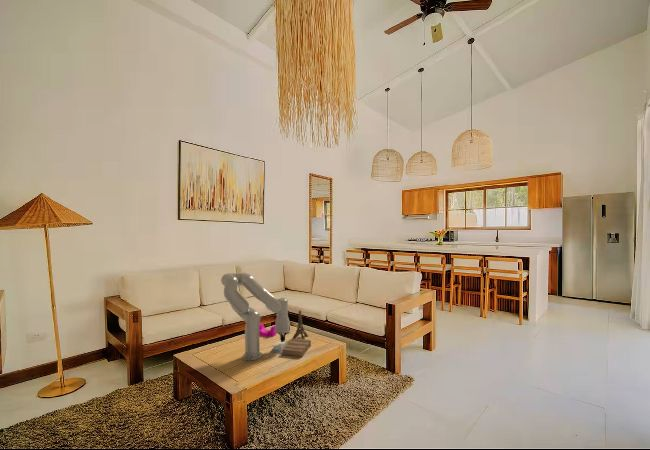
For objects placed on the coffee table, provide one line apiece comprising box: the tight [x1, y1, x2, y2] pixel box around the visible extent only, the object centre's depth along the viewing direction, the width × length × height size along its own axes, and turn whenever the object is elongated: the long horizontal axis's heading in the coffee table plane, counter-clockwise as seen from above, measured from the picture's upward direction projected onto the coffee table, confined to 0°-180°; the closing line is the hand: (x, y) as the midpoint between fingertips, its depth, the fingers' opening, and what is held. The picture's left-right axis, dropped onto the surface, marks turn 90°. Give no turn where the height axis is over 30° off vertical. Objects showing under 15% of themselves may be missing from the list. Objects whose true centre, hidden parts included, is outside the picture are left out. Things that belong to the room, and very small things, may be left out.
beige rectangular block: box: [272, 340, 287, 351], centre depth 219 cm, size 9×6×3 cm, turn 165°
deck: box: [282, 337, 312, 358], centre depth 215 cm, size 20×14×4 cm
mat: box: [269, 343, 288, 355], centre depth 218 cm, size 16×10×1 cm, turn 165°
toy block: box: [259, 323, 277, 337], centre depth 245 cm, size 15×6×8 cm, turn 66°
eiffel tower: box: [291, 310, 309, 340], centre depth 239 cm, size 11×11×25 cm
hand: (282, 341), depth 218 cm, fingers closed
